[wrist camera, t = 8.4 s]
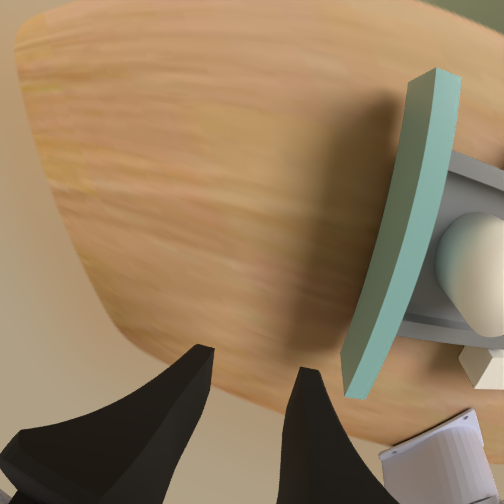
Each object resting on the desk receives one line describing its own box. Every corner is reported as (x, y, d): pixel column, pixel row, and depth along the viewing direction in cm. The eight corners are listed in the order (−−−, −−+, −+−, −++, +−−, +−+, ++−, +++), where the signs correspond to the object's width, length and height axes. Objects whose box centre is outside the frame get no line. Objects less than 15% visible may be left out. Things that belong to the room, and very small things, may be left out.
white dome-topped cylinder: (451, 315, 16) (477, 355, 12) (420, 243, 15) (449, 273, 11) (516, 269, 14) (552, 299, 11) (493, 193, 13) (534, 211, 10)
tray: (554, 150, 12) (595, 157, 8) (478, 368, 18) (498, 405, 14) (407, 82, 13) (436, 67, 10) (340, 351, 19) (344, 397, 15)
